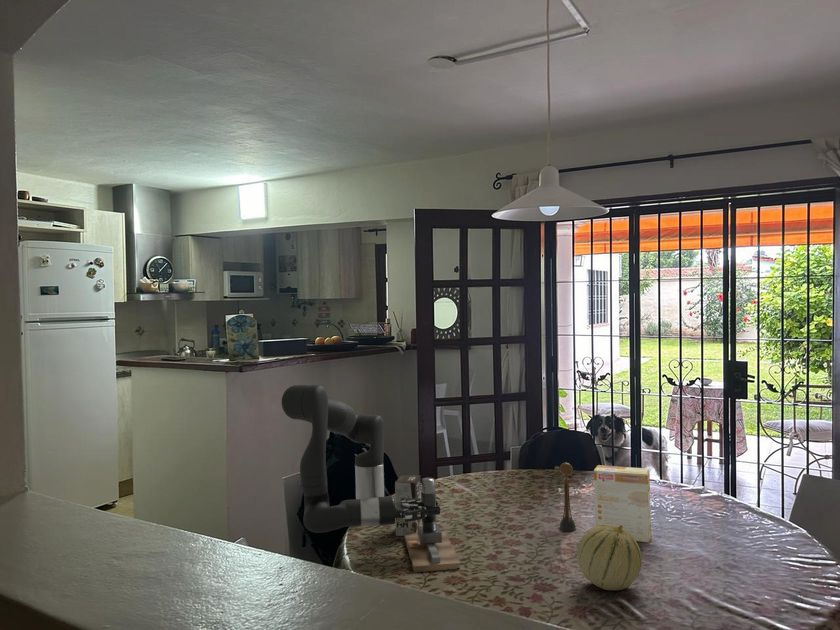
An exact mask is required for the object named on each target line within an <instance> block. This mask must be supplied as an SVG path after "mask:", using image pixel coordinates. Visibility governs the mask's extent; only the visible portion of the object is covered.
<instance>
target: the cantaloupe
mask: <svg viewBox="0 0 840 630" xmlns="http://www.w3.org/2000/svg"><path fill="white" fill-rule="evenodd" d="M637 542H638V541H636V540H635V539H634V537H633V536H632V535H631V534H630V533H628V532H627V531H626V530H624V529H623V526H622V525H620V526H619V527H617V526H615V525H611V524H600V525H597V526H595V525H594V526H593V527H591V528H590V529H589V530H587V531H586V532H585V534H583V535H582V537H581V539H580V540H579V543H578V544H577V548H576V549H577V550H576V560H577V565H578V568H579V569H580V571H581V573H582V575H583V576H584V577H585V578H586V580H588V581H589V582H590V583H592V584H593V585H594V586H596V587H598V588H600V589H603V590H605V591H621V590H625V589H627V588H629V587H631V585H633V583H634V582H635V581H636V580H637V578H638V577H639V575H640V573H641V568H642V564H643V563H642V561H643V560H642V557H643V556H642V552H641V549H640V546H639V544H638V543H637Z"/></svg>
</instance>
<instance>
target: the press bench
mask: <svg viewBox="0 0 840 630" xmlns="http://www.w3.org/2000/svg"><path fill="white" fill-rule="evenodd" d="M441 532H442V543H431V544H420V542H419V539H418V533H406V534H405V536H404V541H405V546H406V549H407V552H408V556H409V559H410V563H411V566H412V571H413V573H421V572H434V571H436V572H437V571H447V569H450V570H458V569H457V568H460V569H461V562H460V560H459V557H458V556H457V554H456V551H455V549H454V547H453V545H452V543H451V541H450V539H449V537H448V535H447V533H446V530H441Z"/></svg>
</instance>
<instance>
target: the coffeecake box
mask: <svg viewBox="0 0 840 630" xmlns="http://www.w3.org/2000/svg"><path fill="white" fill-rule="evenodd" d="M650 479H651V478H650V468H645V467H644V468H643V467H642V468H641V467H630V466H629V467H628V466H615V465H602V464H601V465H600V464H598V465H596V467H595V468H594V470H593V491H594V492H593V493H594V526H597V525H600V524H611V525H615V526H617V527H619V526H620V525H622V526H623V529H624V530H626V531H627V532H628V533H630V534H631V535H632V536H633V537H634V539H635V540H636V542H641V543H650V541H651V537H652V516H651V515H652V514H651V513H652V511H651V510H652V509H651V482H650Z"/></svg>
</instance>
